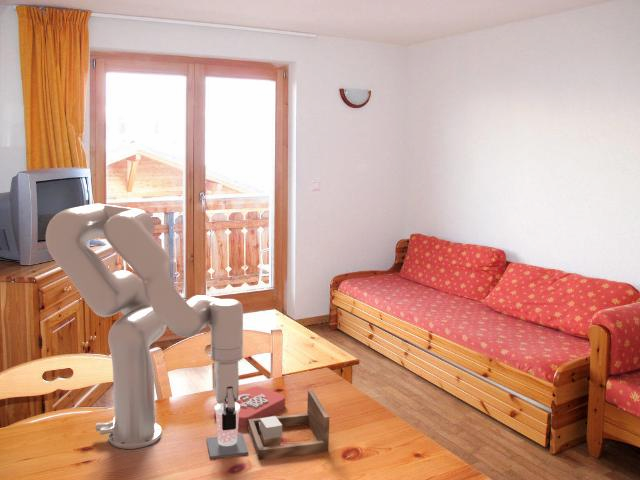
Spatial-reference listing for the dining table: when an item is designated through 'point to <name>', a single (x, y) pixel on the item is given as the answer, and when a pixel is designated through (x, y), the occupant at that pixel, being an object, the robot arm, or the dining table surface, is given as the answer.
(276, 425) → the offcut top
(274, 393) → the plaque
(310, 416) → the rack
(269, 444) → the block
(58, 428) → the dining table surface
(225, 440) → the beverage cup
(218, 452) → the coaster
